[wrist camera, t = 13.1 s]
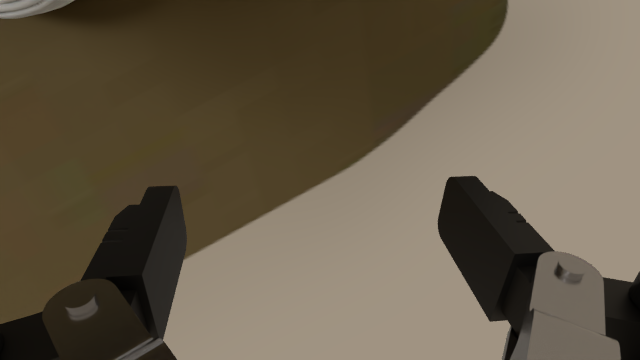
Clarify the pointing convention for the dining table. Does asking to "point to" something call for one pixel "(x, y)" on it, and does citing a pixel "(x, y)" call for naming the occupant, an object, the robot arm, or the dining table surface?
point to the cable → (28, 7)
